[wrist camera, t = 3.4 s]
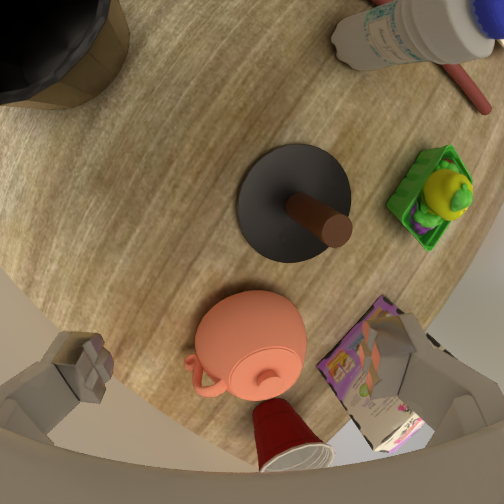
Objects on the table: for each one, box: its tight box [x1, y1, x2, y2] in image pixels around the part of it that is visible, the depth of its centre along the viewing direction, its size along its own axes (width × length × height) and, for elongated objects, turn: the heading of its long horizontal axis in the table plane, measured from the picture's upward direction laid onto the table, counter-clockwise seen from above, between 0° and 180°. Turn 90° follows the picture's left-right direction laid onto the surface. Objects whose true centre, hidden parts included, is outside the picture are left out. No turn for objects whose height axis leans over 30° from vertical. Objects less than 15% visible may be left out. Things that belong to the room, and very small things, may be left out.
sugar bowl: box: [184, 290, 307, 401], centre depth 32 cm, size 12×14×10 cm
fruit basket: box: [386, 145, 473, 251], centre depth 31 cm, size 11×9×11 cm
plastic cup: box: [253, 398, 335, 472], centre depth 39 cm, size 11×11×12 cm
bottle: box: [331, 0, 504, 71], centre depth 19 cm, size 7×7×20 cm
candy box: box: [317, 295, 458, 453], centre depth 36 cm, size 14×6×16 cm, turn 138°
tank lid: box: [237, 144, 352, 263], centre depth 29 cm, size 12×12×9 cm
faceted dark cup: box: [0, 0, 130, 110], centre depth 16 cm, size 12×12×12 cm
